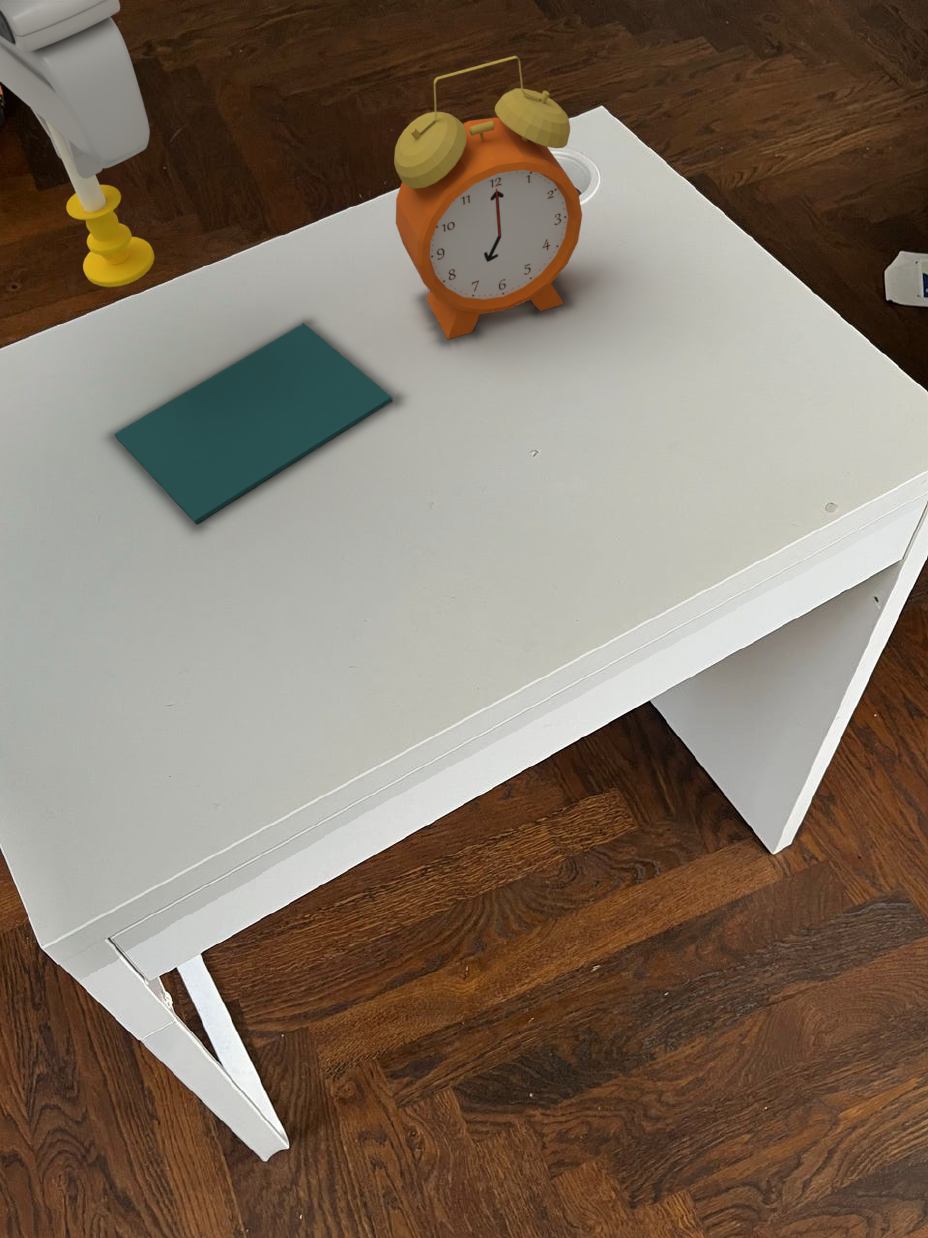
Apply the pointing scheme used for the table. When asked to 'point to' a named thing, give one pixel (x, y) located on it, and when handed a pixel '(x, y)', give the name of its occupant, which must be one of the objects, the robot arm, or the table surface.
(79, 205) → the candle
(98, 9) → the robot arm
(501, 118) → the alarm clock
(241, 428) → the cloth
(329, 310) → the table surface
